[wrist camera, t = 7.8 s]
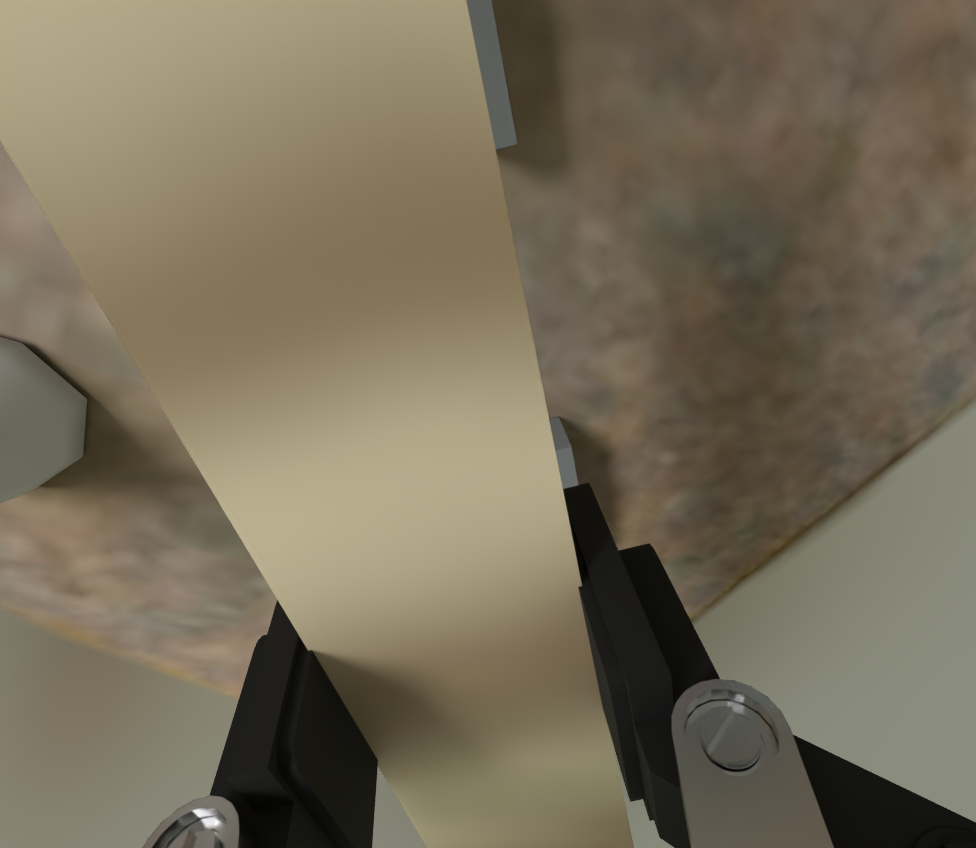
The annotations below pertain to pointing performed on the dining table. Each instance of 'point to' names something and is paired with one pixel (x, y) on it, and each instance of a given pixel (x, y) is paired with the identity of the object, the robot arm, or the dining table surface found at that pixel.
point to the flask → (35, 421)
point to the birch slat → (341, 364)
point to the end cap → (492, 72)
